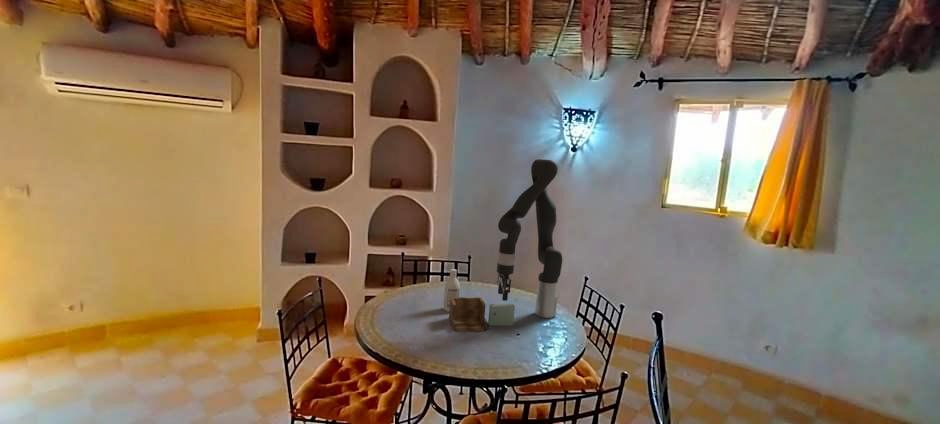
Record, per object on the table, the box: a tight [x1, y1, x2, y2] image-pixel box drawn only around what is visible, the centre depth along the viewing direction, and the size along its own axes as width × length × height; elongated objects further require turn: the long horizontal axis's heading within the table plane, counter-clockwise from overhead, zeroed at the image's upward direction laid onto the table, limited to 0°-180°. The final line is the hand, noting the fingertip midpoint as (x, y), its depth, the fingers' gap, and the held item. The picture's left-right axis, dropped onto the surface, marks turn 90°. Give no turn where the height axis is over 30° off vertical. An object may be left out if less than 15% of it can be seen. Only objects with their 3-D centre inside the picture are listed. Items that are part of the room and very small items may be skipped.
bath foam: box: [443, 268, 461, 313], centre depth 240 cm, size 7×7×20 cm
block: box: [487, 303, 516, 326], centre depth 228 cm, size 11×3×9 cm, turn 101°
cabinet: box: [448, 296, 488, 332], centre depth 225 cm, size 14×14×10 cm
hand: (502, 297), depth 227 cm, fingers open, 8 cm apart
